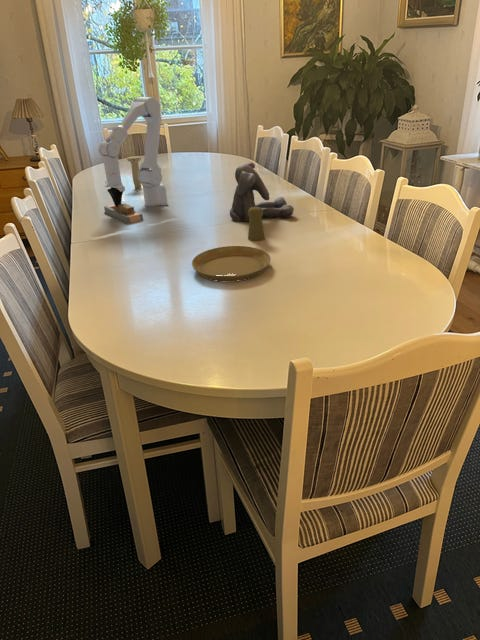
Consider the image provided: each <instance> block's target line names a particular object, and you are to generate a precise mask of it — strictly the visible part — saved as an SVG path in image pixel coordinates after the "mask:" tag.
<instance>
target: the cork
mask: <svg viewBox="0 0 480 640" xmlns="http://www.w3.org/2000/svg"><path fill="white" fill-rule="evenodd" d="M248 215H249V217H250V221H249V222H248V232H247V240H248V241H251V242H252V241H253V242H260V241H263V240H265V239H266V235H265V230H264V225H263V218H262V215H263V210H262V208H260V207H252V208H250V209H249V210H248Z"/></svg>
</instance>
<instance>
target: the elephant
mask: <svg viewBox="0 0 480 640" xmlns="http://www.w3.org/2000/svg"><path fill="white" fill-rule="evenodd" d="M255 168H256V164H255V163H253V162H251V161H250V162H248V163H244V164H241V165H239V166H237V168H236V169H235V171H234V177H235V181H236V183H237V185H236V187H235V189H234V195H233V197H232V198H233V200H232V204H231V208H230V210H229V216H230V218H231V219H232V221H235V222H242V223H249V221H250V217H249V215H248V210H249V209H250V208H252V207H260V208H262V210H263V215H262V219H268V218H271V219H272V218H283V219H285V218H290V217H291V216H292V215H293V214H294V209H295V208H294V206H293V205H291V204H288V203H287V201H286V199H285V198H284V197H283V196H282V197H281V196H280V197H276V199H274V200H273V201H270V192H269V191H268V188H267V187H266V185H265V183H264V181H263V180H262V178H261V177H260V175H259V174H258V172H257V171H256V170H255ZM254 191H255V192H257V193H259V195H260V197H261V198H262V199H263V200H264V201H263V202H259V203H255V194H254Z"/></svg>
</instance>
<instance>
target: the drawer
mask: <svg viewBox="0 0 480 640" xmlns="http://www.w3.org/2000/svg"><path fill="white" fill-rule="evenodd" d="M118 206H119V212H121V213H123V214H125V215H129V214H133V213H135V212H134V210H135V206H132V205H130V204H128V203H126V202H125V203H121V204H119V205H118Z"/></svg>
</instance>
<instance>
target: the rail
mask: <svg viewBox="0 0 480 640" xmlns="http://www.w3.org/2000/svg"><path fill="white" fill-rule="evenodd" d="M103 209H104V212H103V213H104V214H105V215H107V216H110V217H111V218H113V219H116V220H117V221H119V222H121V223H124V224H126V225H128V224H133V223H136V222H140V221H144V220H145V218H144V217H143V216H144V215H143V213H142V212H139V211H137V210H135V209H134V212H135V213H133V214H129V215H125V214H123V213H121V212H119V206H117V207H116V206H115V204H114V203H113V204H108V205H105V206H103Z"/></svg>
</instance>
